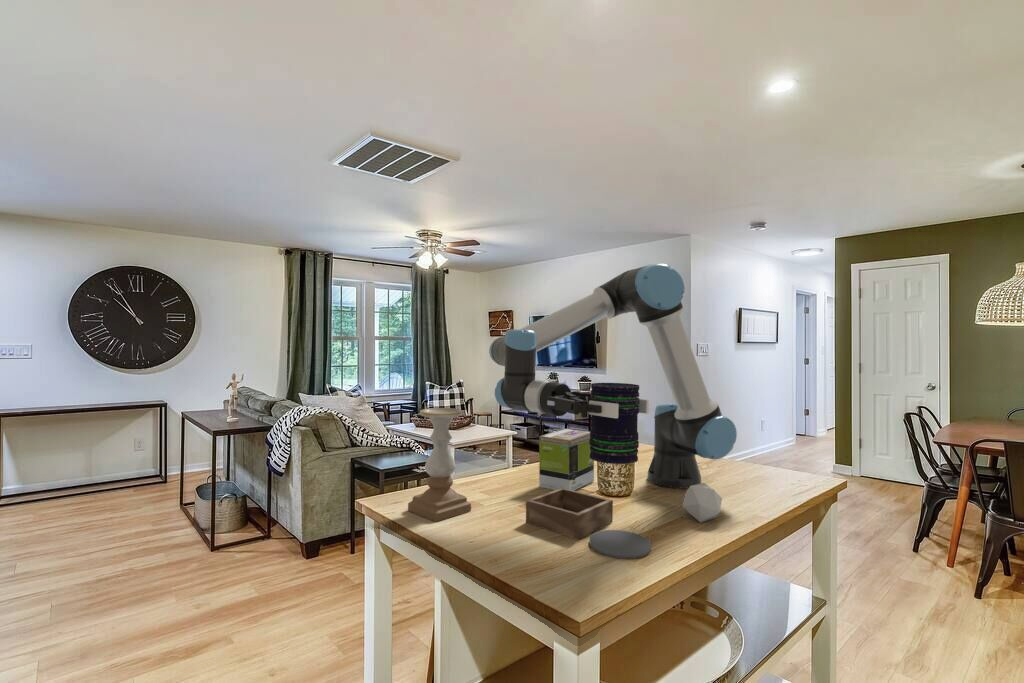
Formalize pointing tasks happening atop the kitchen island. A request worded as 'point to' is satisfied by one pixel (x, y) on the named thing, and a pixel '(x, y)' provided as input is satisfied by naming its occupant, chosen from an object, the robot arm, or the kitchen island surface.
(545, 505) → the walnut open box
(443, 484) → the candle holder
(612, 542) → the rubber pad
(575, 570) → the kitchen island surface
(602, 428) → the dark blue cylinder
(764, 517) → the kitchen island surface
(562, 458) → the tea box
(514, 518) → the kitchen island surface
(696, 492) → the die
